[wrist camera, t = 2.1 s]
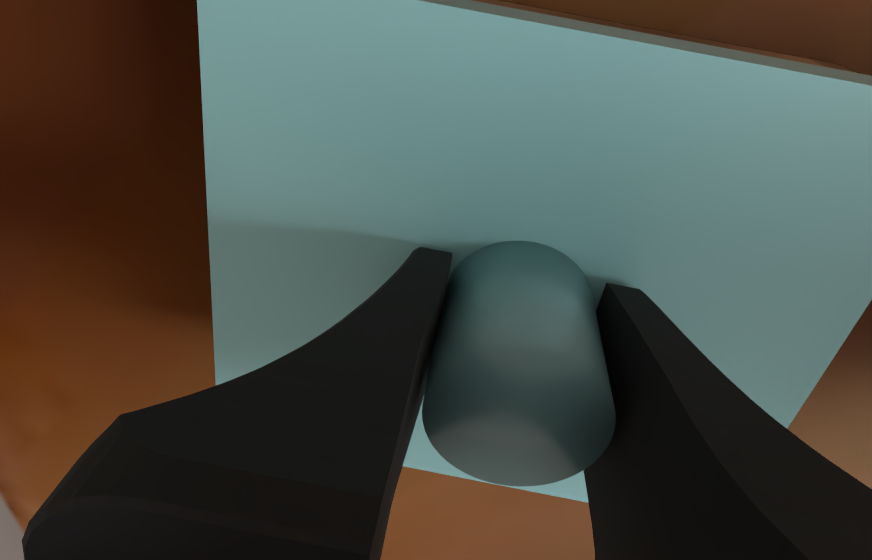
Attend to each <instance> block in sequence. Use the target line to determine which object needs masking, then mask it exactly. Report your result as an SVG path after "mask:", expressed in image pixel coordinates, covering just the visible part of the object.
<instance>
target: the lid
mask: <svg viewBox="0 0 872 560" xmlns="http://www.w3.org/2000/svg"><path fill="white" fill-rule="evenodd" d="M197 12H198V33H199V53H200V73H201V94H202V114H203V134H204V155H205V175H206V196H207V216H208V236H209V257H210V277H211V297H212V318H213V338H214V358H215V379H216V385H219V384H222V383H224V382H227V381H230V380H232V379H235V378H237V377H240V376H242V375H244V374H247V373H249V372H251V371H254V370H256V369H258V368H261V367H263V366H265V365H267V364H269V363H271V362H273V361H275V360H277V359H279V358H281V357H282V356H284V355H286V354H288V353H290V352H292V351H294V350H296V349H297V348H299V347H301V346H303V345H304V344H306V343H308V342H309V341H311V340H312V339H314V338H316V337H317V336H319V335H320V334H322V333H323V332H325V331H326V330H328V329H329V328H331V327H332V326H333V325H335V324H336V323H338V322H339V321H340V320H342V319H343V318H344V317H346V316H347V315H348V314H349V313H351V312H352V311H353V310H354V309H356V308H357V307H358V306H359V305H361V304H362V303H363V302H364V301H365V300H367V299H368V298H369V297H370V296H371V295H372V294H373V293H374V292H375V291H377V290H378V289H379V288H380V287H381V286H382V285H383V284H384V283H385V282H386V281H387V280H388V279H389V278H390V277H391V276H392V275H393V274H394V273H395V272H396V271H397V270H398V269H399V268H400V267H401V265H402V264H403V263H404V262H405V261H406V259H407V258H408V257H409V256H410V254H411V253H412V251H414V250H415V249H417V248H418V247H424V248H429V249H434V250H440V251H445V252H450V253H453V254H452V260H451V266H450V272H449V277H448V282H447V287H446V292H445V297H444V302H443V307H442V312H441V317H440V321H439V325H438V328H437V332H436V336H435V340H434V345H433V351H432V356H431V362H430V367H429V372H428V378H427V383H426V388H425V394H424V397H423V400H422V404H421V407H420V410H419V414H418V417H417V420H416V423H415V427H414V430H413V433H412V436H411V440H410V443H409V446H408V450H407V453H406V456H405V459H404V463H403V466H405V467H410V468H415V469H420V470H425V471H430V472H435V473H441V474H446V475H451V476H456V477H461V478H466V479H471V480H476V481H481V482H486V483H491V484H496V485H502V486H507V487H512V488H517V489H522V490H527V491H532V492H537V493H542V494H547V495H552V496H557V497H562V498H568V499H573V500H578V501H583V502H588V495H587V489H586V483H585V476H584V470H585V469H586V468H587V467H589V466H590V465H592V464H593V463H594V462H595V461H596V460H597V459H598V458H599V457H600V456H601V455H602V454H603V452H604V451H605V450H606V448H607V447H608V445H609V443H610V441H611V439H612V436H613V433H614V430H615V424H616V412H615V407H614V402H613V396H612V391H611V386H610V381H609V376H608V371H607V366H606V361H605V356H604V351H603V346H602V341H601V335H600V330H599V325H598V320H597V315H596V310H597V307H598V304H599V302H600V299H601V296H602V293H603V291H604V288H605V285H606V283H611V284H616V285H621V286H626V287H632V288H637V289H640V290H641V291H643V292H644V293H645V294H646V295H647V296H648V297H649V298H650V299H651V300H652V301H653V302H654V303H655V304H656V305H657V306H658V307H659V308H660V309H661V310H662V311H663V312H664V313H665V314H666V315H667V316H668V318H669V319H670V320H671V321H672V322H673V323H674V324H675V325H676V326H677V327H678V328H679V329H680V330H681V331H682V332H683V333H684V334H685V336H686V337H687V338H688V339H689V340H690V341H691V342H692V343H693V344H694V345H695V346H696V347H697V348H698V349H699V350H700V351H701V352H702V353H703V354H704V355H705V356H706V357H707V358H708V359H709V360H710V361H711V362H712V363H713V364H714V365H715V366H716V367H717V368H718V369H719V370H720V371H721V372H722V373H723V374H724V375H725V376H726V377H727V378H728V379H730V380H731V381H732V382H733V383H734V384H735V385H736V386H737V387H738V388H739V389H740V390H742V391H743V392H744V393H745V394H746V395H747V396H748V397H749V398H750V399H751V400H753V401H754V402H755V403H756V404H757V405H758V406H759V407H761V408H762V409H763V410H764V411H765V412H767V413H768V414H769V415H770V416H771V417H773V418H774V419H775V420H776V421H778V422H779V423H780V424H782V425H783V426H784V427H785V428H788V427H789V425H790V424H791V422H792V421H793V419H794V418H795V416H796V415H797V413H798V412H799V410H800V408H801V407H802V405H803V404H804V402H805V401H806V399H807V398H808V396H809V395H810V393H811V392H812V390H813V389H814V387H815V386H816V384H817V382H818V381H819V379H820V378H821V376H822V375H823V373H824V372H825V370H826V369H827V367H828V366H829V364H830V363H831V361H832V360H833V358H834V357H835V355H836V353H837V352H838V350H839V349H840V347H841V346H842V344H843V343H844V341H845V340H846V338H847V337H848V335H849V334H850V332H851V331H852V329H853V327H854V326H855V324H856V323H857V321H858V320H859V318H860V317H861V315H862V314H863V312H864V311H865V309H866V308H867V306H868V305H869V303H870V302H871V300H872V76H871V75H865V74H860V73H855V72H849V71H844V70H839V69H833V68H828V67H823V66H818V65H812V64H807V63H802V62H796V61H791V60H786V59H780V58H775V57H770V56H764V55H759V54H754V53H748V52H743V51H738V50H733V49H727V48H722V47H717V46H711V45H706V44H701V43H695V42H690V41H685V40H679V39H674V38H669V37H663V36H658V35H653V34H647V33H642V32H637V31H632V30H626V29H621V28H616V27H610V26H605V25H600V24H594V23H589V22H584V21H578V20H573V19H568V18H562V17H557V16H552V15H546V14H541V13H536V12H531V11H525V10H520V9H515V8H509V7H504V6H499V5H493V4H488V3H483V2H477V1H472V0H197ZM588 503H589V502H588Z"/></svg>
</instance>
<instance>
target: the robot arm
mask: <svg viewBox="0 0 872 560" xmlns="http://www.w3.org/2000/svg"><path fill="white" fill-rule="evenodd" d="M452 254H453V253H450V252H445V251H440V250H434V249H429V248H424V247H418V248H417V249H415V250H414V251H412V253H411V254H410V256H409V257H408V258H407V259H406V261H405V262H404V263H403V264H402V265H401V267H400V268H399V269H398V270H397V271H396V272H395V273H394V274H393V275H392V276H391V277H390V278H389V279H388V280H387V281H386V282H385V283H384V284H383V285H382V286H381V287H380V288H379V289H378V290H377V291H375V292H374V293H373V294H372V295H371V296H370V297H369V298H368V299H367V300H365V301H364V302H363V303H362V304H361V305H359V306H358V307H357V308H356V309H354V310H353V311H352V312H351V313H349V314H348V315H347V316H346V317H344V318H343V319H342V320H340V321H339V322H338V323H336V324H335V325H333V326H332V327H331V328H329V329H328V330H326V331H325V332H323V333H322V334H320V335H319V336H317V337H316V338H314V339H312V340H311V341H309V342H308V343H306V344H304V345H303V346H301V347H299V348H297V349H296V350H294V351H292V352H290V353H288V354H286V355H284V356H282V357H281V358H279V359H277V360H275V361H273V362H271V363H269V364H267V365H265V366H263V367H261V368H258V369H256V370H254V371H251V372H249V373H247V374H244V375H242V376H240V377H237V378H235V379H232V380H230V381H227V382H224V383H222V384H219V385H216V386H214V387H211V388H208V389H206V390H203V391H200V392H197V393H194V394H191V395H188V396H184V397H181V398H178V399H174V400H171V401H167V402H164V403H161V404H157V405H154V406H151V407H147V408H144V409H140V410H137V411H133V412H129V413H125V414H121V415H120V416H118V417H117V419H116V420H115V421H114V422H113V423H112V424H111V425H110V426H109V427H108V428H107V429H106V430H105V431H104V432H103V433H102V434H101V435H100V436H99V437H98V438H97V439H96V440H95V441H94V442H93V443H92V444H91V445H90V447H89V448H88V449H87V450H86V451H85V452H84V453H83V455H82V456H81V457H80V458H79V459H78V460H77V461H76V463H75V464H74V465H73V467H72V468H71V469H70V470H69V472H68V473H67V474H66V475H65V477H64V478H63V479H62V481H61V482H60V483H59V484H58V486H57V487H56V488H55V489H54V491H53V492H52V493H51V495H50V496H49V497H48V498H47V500H46V501H45V502H44V503H43V505H42V506H41V507H40V508H39V510H38V511H37V512H36V514H35V515H34V516H33V517H32V519H31V520H30V521H29V523H28V526H27V529H26V531H25V534H24V536H23V539H22V544H23V552H24V560H380V558H381V553H382V548H383V543H384V538H385V533H386V528H387V523H388V519H389V514H390V509H391V505H392V501H393V497H394V493H395V489H396V486H397V482H398V479H399V476H400V472H401V469H402V466H403V463H404V459H405V456H406V453H407V450H408V446H409V443H410V440H411V436H412V433H413V430H414V427H415V423H416V420H417V417H418V414H419V410H420V407H421V404H422V400H423V397H424V394H425V388H426V383H427V378H428V372H429V367H430V362H431V356H432V351H433V345H434V340H435V336H436V332H437V328H438V325H439V321H440V317H441V312H442V307H443V302H444V297H445V292H446V287H447V282H448V277H449V272H450V266H451V260H452ZM596 315H597V320H598V325H599V330H600V335H601V341H602V346H603V351H604V356H605V361H606V366H607V371H608V376H609V381H610V386H611V391H612V396H613V402H614V407H615V412H616V424H615V430H614V433H613V436H612V439H611V441H610V443H609V445H608V447H607V448H606V450H605V451H604V452H603V454H602V455H601V456H600V457H599V458H598V459H597V460H596V461H595V462H594V463H593V464H592V465H590V466H589V467H587V468H586V469H585V470H584V476H585V483H586V489H587V495H588V502H589V508H590V515H591V521H592V529H593V538H594V547H595V560H872V489H870V488H869V487H867V486H866V485H864V484H863V483H861V482H860V481H858V480H857V479H855V478H854V477H852V476H851V475H850V474H848V473H847V472H845V471H844V470H842V469H841V468H839V467H838V466H836V465H835V464H833V463H832V462H830V461H829V460H828V459H826V458H825V457H823V456H822V455H821V454H819V453H818V452H817V451H815V450H814V449H812V448H811V447H810V446H808V445H807V444H806V443H804V442H803V441H802V440H800V439H799V438H798V437H797V436H795V435H794V434H793V433H792V432H790V431H789V430H788V429H787V428H785V427H784V426H783V425H782V424H780V423H779V422H778V421H776V420H775V419H774V418H773V417H771V416H770V415H769V414H768V413H767V412H765V411H764V410H763V409H762V408H761V407H759V406H758V405H757V404H756V403H755V402H754V401H753V400H751V399H750V398H749V397H748V396H747V395H746V394H745V393H744V392H743V391H742V390H740V389H739V388H738V387H737V386H736V385H735V384H734V383H733V382H732V381H731V380H730V379H728V378H727V377H726V376H725V375H724V374H723V373H722V372H721V371H720V370H719V369H718V368H717V367H716V366H715V365H714V364H713V363H712V362H711V361H710V360H709V359H708V358H707V357H706V356H705V355H704V354H703V353H702V352H701V351H700V350H699V349H698V348H697V347H696V346H695V345H694V344H693V343H692V342H691V341H690V340H689V339H688V338H687V337H686V336H685V334H684V333H683V332H682V331H681V330H680V329H679V328H678V327H677V326H676V325H675V324H674V323H673V322H672V321H671V320H670V319H669V318H668V316H667V315H666V314H665V313H664V312H663V311H662V310H661V309H660V308H659V307H658V306H657V305H656V304H655V303H654V302H653V301H652V300H651V299H650V298H649V297H648V296H647V295H646V294H645V293H644V292H643V291H641V290H640V289H637V288H632V287H626V286H621V285H616V284H611V283H606V285H605V288H604V291H603V293H602V296H601V299H600V302H599V304H598V307H597V310H596Z"/></svg>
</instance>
